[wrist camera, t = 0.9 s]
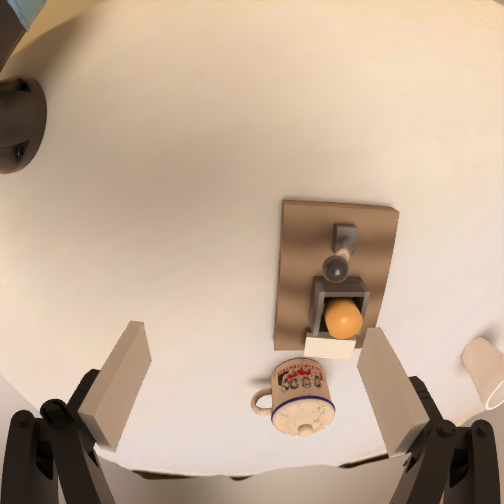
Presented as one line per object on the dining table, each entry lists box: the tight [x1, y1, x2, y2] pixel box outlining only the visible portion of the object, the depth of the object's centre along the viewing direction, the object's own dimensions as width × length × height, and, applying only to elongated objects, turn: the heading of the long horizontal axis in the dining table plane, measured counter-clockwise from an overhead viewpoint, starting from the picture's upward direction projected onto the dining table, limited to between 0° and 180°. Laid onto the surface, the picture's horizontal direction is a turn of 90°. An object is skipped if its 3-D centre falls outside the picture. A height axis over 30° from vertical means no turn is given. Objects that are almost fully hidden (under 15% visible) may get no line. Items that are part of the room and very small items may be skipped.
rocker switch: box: [304, 332, 356, 360], centre depth 36 cm, size 3×6×1 cm, turn 88°
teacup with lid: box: [251, 359, 335, 437], centre depth 39 cm, size 12×9×12 cm
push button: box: [323, 297, 363, 339], centre depth 32 cm, size 4×4×3 cm
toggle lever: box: [322, 239, 354, 283], centre depth 27 cm, size 2×2×9 cm
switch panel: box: [274, 200, 399, 350], centre depth 35 cm, size 20×14×6 cm
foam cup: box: [461, 337, 504, 410], centre depth 37 cm, size 10×9×13 cm
